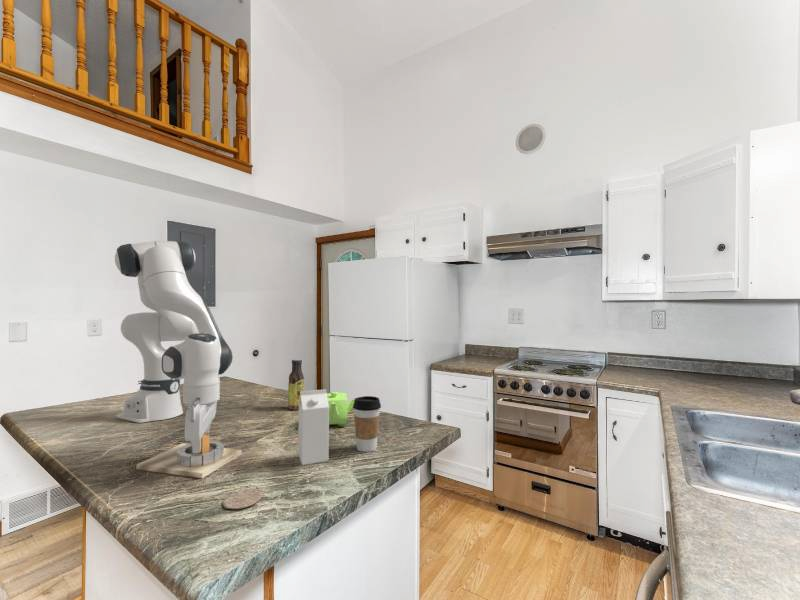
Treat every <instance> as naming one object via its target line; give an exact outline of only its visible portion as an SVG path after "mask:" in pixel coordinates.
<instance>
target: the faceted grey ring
mask: <svg viewBox="0 0 800 600" xmlns="http://www.w3.org/2000/svg"><path fill="white" fill-rule="evenodd" d="M188 444H189V445H186V446H184V447H182V448H181V449H179V451H178V452H177V463H178V464H179V465H180V466H185V467H197V466H202V465H203V466H204V465H207V464H211V463H214V462H216V461H218V460H219V459H221V458H222V457H223V454H224V448H225V446H224V443H223V442H221V441H218V440H217V441H216V440H209V446H210V447H213V448H214V450H212V451H210V452H206V453H202V454H189V451H190V450H192V444H191V443H188Z"/></svg>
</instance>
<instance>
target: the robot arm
mask: <svg viewBox="0 0 800 600" xmlns="http://www.w3.org/2000/svg"><path fill="white" fill-rule="evenodd" d="M114 263H115V266H116V269H118V271H119V272H120V274H121V275H123V276H124V277H130V278H137V285H138V291H139V292H138V293H139V298H140V301H141V303H142V305H144V307H146V308H148V309H150V310H151V311H155V312H151V311H149V312H148V311H147V312H137V313H136V312H135V313H132V314H131V313H130V314H128V315H126V316H125V317H124V318H123V319H122V321H121V323H120V331H121V332H120V333H121V334H122V336H123V338H124V339H125V340H127V341H128V342H130V343H131V344H133V345H134V346H135V347H136V348H137V349H138V351H139V352H140V355H141V356H142V361H143V373H144V374H143V376H144V377H143V379H141V380H138V381H137V382H138V384H137V385H140V386H139V389H138V390H137V391H135V392H134V393H133V394H132V395H131V396H129V397H128V398H127V399H126V400H125V402H124V406H123V411H120V412H118V413H117V414H115V418H116V419H120V420H125V421H130V422H134V423H137V424H139V423H140V424H141V423H146V422H155V421H162V420H163V421H164V420H168V419H171V418H172V419H173V418H175V417H179V416H181V415H182V414H184V410H183V405H182V403H183V404H185V405H188V406H187V407H188V409H187V410H186V413H185V420H184V440H185V441H186V442H191V443H190V444H192V452H193V453H200V451H201V438H202V436H203V434H205V435H208V436H210V429H211V424H212V421H213V420H214V419H215V417H216V413H217V404H218V401H219V400H220V399H221V397H220V395H221V393H220V392H221V380H220V379H221V378H220V375H223V374H225V372H226V371H227V370H229V367H230V366H231V364H232V362H233V359H234V357H233V352H232V349H231V347H230V346H229V344H228V342H226V340H225V338H224V336H223V335H222V332H221V330H220V329H219V326H218V324H217V321H216V320H215V317H214V315H213V313H212V311H211V308H210V307H209V305H208V303H207V301H206V299H205V298H204V297H203V295H202V296H201V295H200V294H199V293H198V292H197V291H196V290H195V289H194V288H193V287H192V286H191V283H190V282H189V280H188V276H187V275H186V272H189V271H191V270H192V269H193V268H194V267H195V264H196V252H195V250H194V248H193V246H192V244H190V243H189V242H187V241H183V240H176V241H175V240H173V241H172V240H154V241H146V242H138V243H125V244H121V245H120V246H118V247H117V248H116V251H115V254H114ZM181 341H182V342H181ZM161 342H180V343H178V344H175V345H171V346H169V347H168V348H167V349H166V348H165V347H163V346H162V343H161ZM182 379H183V383H182V398H181V392H180V386H181V380H182ZM181 399H182V402H181Z"/></svg>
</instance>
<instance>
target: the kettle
mask: <svg viewBox="0 0 800 600" xmlns="http://www.w3.org/2000/svg"><path fill="white" fill-rule="evenodd" d="M347 396H348V395H347V392H337V391H332V392H329V393H328V392H327V398H328V404H329V425H337V426H338V427H339V428H340V427H341V428H342V427H343V428H344V427H345V425H346V424H348V414H349V413H350V411H351V410H352V409H353V404H354V401H355V398H354V397H353V399H352V400H351V401H349V403H348V397H347Z"/></svg>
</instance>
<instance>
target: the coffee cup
mask: <svg viewBox="0 0 800 600" xmlns="http://www.w3.org/2000/svg"><path fill="white" fill-rule="evenodd" d="M380 401H381V400H380V398H379V397H377V396H370V395H369V396H367V395H366V396H359V397H356V398H355V401H354V404H353V407H352V409H353V411H354V414H353V417H354V430H355V441H356V449H357V451H359V452H364V453H368V452H373V451H375V450H377V448H378V447H377V446H378V435H379V426H380V418H381V417H380V416H381V414H380V409H381V408H382V405H381V404H382V403H381V402H380Z"/></svg>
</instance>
